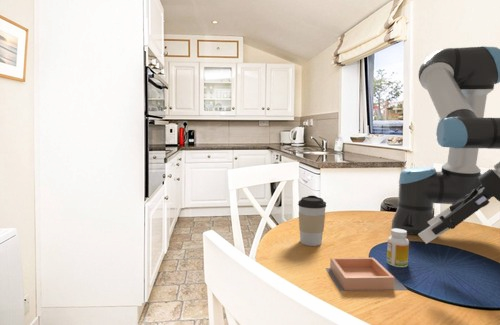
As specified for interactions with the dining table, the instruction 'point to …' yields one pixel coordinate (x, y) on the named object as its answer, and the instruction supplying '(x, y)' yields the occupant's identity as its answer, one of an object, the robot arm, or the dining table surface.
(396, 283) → the mat
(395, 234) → the supplement bottle
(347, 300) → the dining table surface
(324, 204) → the coffee cup
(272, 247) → the dining table surface
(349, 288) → the dish
